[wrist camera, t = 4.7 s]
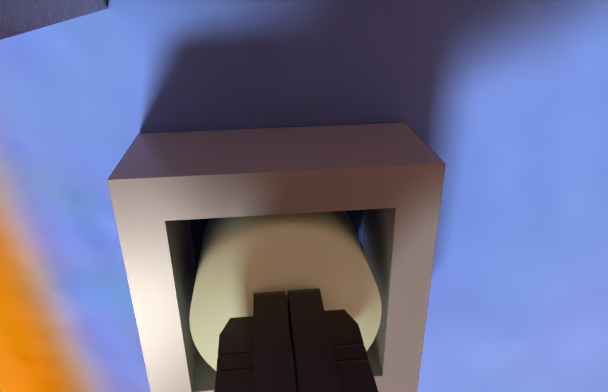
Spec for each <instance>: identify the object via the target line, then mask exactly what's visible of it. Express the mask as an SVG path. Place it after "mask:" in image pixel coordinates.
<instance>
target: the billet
mask: <svg viewBox="0 0 608 392" xmlns="http://www.w3.org/2000/svg"><path fill="white" fill-rule="evenodd" d="M104 9H107V2H106V0H0V40H1V39H4V38H8V37H11V36H15V35H18V34H21V33H25V32H28V31H32V30H35V29H39V28H42V27H45V26H49V25H52V24H56V23H59V22H63V21H66V20H69V19H73V18H76V17H80V16H83V15H87V14H90V13H94V12H97V11H100V10H104Z"/></svg>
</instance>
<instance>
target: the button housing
mask: <svg viewBox="0 0 608 392" xmlns="http://www.w3.org/2000/svg"><path fill="white" fill-rule="evenodd" d="M444 169H445V163H444V162H443V161H442V160H441V159H440V158H439V157H438V156H437V155H436V154H435V153H434V152H433V151H432V150H431V148H430V147H429V146H428V145H427V144H426V143H425V142H424V141H423V140H422V139H421V138H420V137H419V136H418V135H417V134H416V133H415V132H414V131H413V130H412V129H411V128H410V127H409V126H408V125H407V124H406V123H405V122H404V123H380V124H355V125H331V126H307V127H283V128H258V129H234V130H210V131H186V132H161V133H139V134H138V135H137V137H136V138H135V140H134V141H133V143H132V144H131V146H130V147H129V149H128V150H127V152H126V153H125V155H124V156H123V158H122V159H121V160H120V162H119V163H118V165H117V166H116V168H115V169H114V171H113V172H112V174H111V175H110V177H109V178H108V180H107V181H108V186H109V191H110V195H111V200H112V205H113V210H114V215H115V220H116V225H117V229H118V234H119V239H120V244H121V249H122V254H123V259H124V263H125V268H126V273H127V278H128V283H129V288H130V293H131V297H132V302H133V307H134V312H135V317H136V322H137V327H138V331H139V336H140V341H141V346H142V351H143V356H144V361H145V365H146V370H147V375H148V380H149V385H150V390H151V392H214V391H215V379H216V371H215V370H214V369H213V368H212V367H211V366H210V365H209V364H208V363H207V362H206V361H205V360H204V358H203V357H202V356H201V354H200V353H199V351H198V350H197V348H196V346H195V343H194V341H193V339H192V335H191V331H190V321H189V316H190V307H191V302H192V296H193V291H194V285H195V280H196V274H197V272H196V264H195V256H194V249H193V241H192V233H191V225H190V219H207V218H224V217H242V216H260V215H278V214H296V213H314V212H331V211H349V210H364V228H363V252H364V254H365V257H366V259H367V262H368V264H369V267H370V270H371V272H372V275H373V277H374V280H375V282H376V285H377V288H378V291H379V293H380V298H381V305H382V314H381V321H380V326H379V329H378V332H377V334H376V337H375V339H374V341H373V343H372V344H371V346H370V347H369V349H368V350H367V355H368V361H369V362H370V365H371V369H372V372H373V375H374V379H375V382H376V385H377V389H378V392H417V389H418V381H419V372H420V364H421V356H422V348H423V340H424V332H425V324H426V316H427V307H428V299H429V291H430V283H431V275H432V267H433V259H434V250H435V242H436V234H437V226H438V218H439V210H440V202H441V194H442V185H443V177H444Z"/></svg>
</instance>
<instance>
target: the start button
mask: <svg viewBox="0 0 608 392" xmlns="http://www.w3.org/2000/svg"><path fill="white" fill-rule="evenodd" d="M315 288H319V289H320V292H321V297H322V302H323V306H324V311H328V310H341V309H345V311H346V312H347V313H348V314H349V315H350V316H351V317H352V318H353V319H354V320H355V321H356V322H357V323H358V325H359V328H360V332H361V335H362V339H363V342H364V346H365V349H366V352H367V350H368V349H369V347H370V346H371V344H372V343H373V341H374V339H375V337H376V334H377V332H378V329H379V326H380V321H381V314H382V305H381V298H380V293H379V291H378V288H377V285H376V282H375V280H374V277H373V275H372V272H371V270H370V267H369V264H368V262H367V259H366V257H365V254H364V252H363V249H362V247H361V244H360V241H359V239H358V236H357V234H356V231H355V229H354V226H353V224H352V221H351V218H350V216H349V215H348V213H347V211H331V212H314V213H296V214H278V215H260V216H242V217H224V218H209V220H208V223H207V225H206V228H205V231H204V235H203V241H202V246H201V252H200V257H199V263H198V268H197V274H196V280H195V285H194V291H193V296H192V302H191V307H190V316H189V321H190V331H191V335H192V339H193V341H194V343H195V346H196V348H197V350H198V351H199V353H200V354H201V356H202V357H203V358H204V360H205V361H206V362H207V363H208V364H209V365H210V366H211V367H212V368H213V369H214V370H215V371H216V368H217V358H218V345H219V335H220V333H221V332H222V330H223V329H224V327H225V325H226V324H227V322H228V321H229V319H230V318H235V317H249V316H253V293H260V292H274V291H285V294H286V304H287V313H288V290H301V289H315Z"/></svg>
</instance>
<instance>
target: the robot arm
mask: <svg viewBox="0 0 608 392" xmlns="http://www.w3.org/2000/svg"><path fill="white" fill-rule="evenodd" d="M214 392H378V389H377V385H376V382H375V379H374V375H373V372H372V369H371V365H370V362H369V361H368V355H367V352H366V349H365V346H364V342H363V339H362V335H361V332H360V328H359V325H358V323H357V322H356V321H355V320H354V319H353V318H352V317H351V316H350V315H349V314H348V313H347V312H346V311H345V309H341V310H328V311H324V306H323V302H322V297H321V292H320V289H319V288H315V289H301V290H288V313H287V304H286V294H285V291H274V292H260V293H253V316H249V317H235V318H230V319H229V321H228V322H227V324H226V325H225V327H224V329H223V330H222V332H221V333H220V335H219V345H218V358H217V368H216V379H215V391H214Z"/></svg>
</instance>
